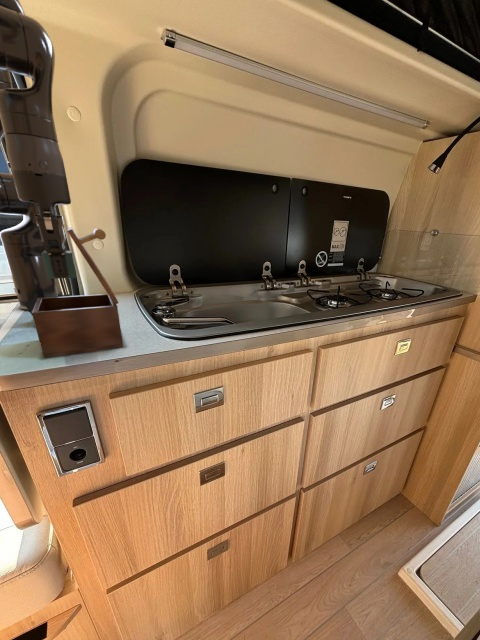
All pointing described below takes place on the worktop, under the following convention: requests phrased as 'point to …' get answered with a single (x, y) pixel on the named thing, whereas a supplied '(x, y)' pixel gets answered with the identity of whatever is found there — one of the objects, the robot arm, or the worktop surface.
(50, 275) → the block
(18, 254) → the robot arm
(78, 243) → the lid
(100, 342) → the chest
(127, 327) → the worktop surface
